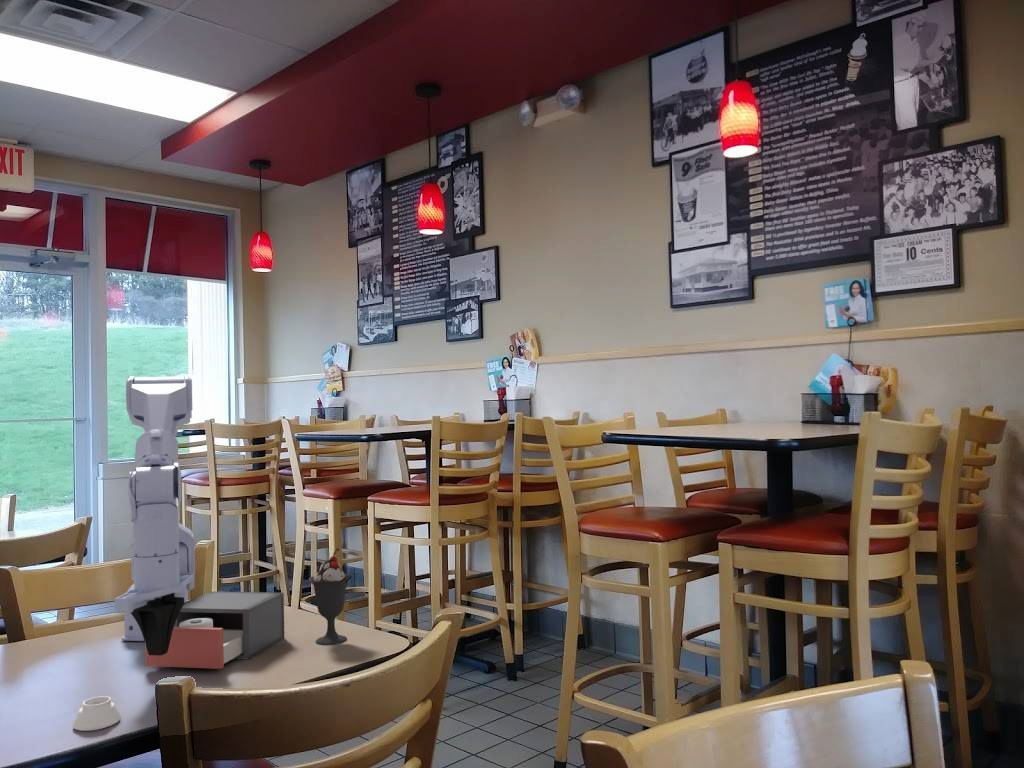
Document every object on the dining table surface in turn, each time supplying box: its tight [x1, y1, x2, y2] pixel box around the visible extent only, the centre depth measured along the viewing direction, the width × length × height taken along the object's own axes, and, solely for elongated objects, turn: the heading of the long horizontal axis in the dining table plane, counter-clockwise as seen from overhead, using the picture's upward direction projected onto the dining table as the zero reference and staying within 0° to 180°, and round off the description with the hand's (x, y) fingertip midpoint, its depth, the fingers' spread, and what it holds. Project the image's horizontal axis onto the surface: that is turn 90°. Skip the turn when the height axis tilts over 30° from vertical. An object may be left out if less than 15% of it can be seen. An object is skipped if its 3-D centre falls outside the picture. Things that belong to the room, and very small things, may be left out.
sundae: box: [308, 547, 352, 646], centre depth 128 cm, size 7×7×15 cm
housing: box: [174, 591, 285, 660], centre depth 126 cm, size 13×11×7 cm
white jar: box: [72, 695, 122, 732], centre depth 96 cm, size 5×3×5 cm
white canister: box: [179, 618, 213, 628], centre depth 117 cm, size 5×5×5 cm
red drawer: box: [144, 627, 243, 670], centre depth 119 cm, size 12×11×6 cm
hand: (158, 653), depth 109 cm, fingers closed
